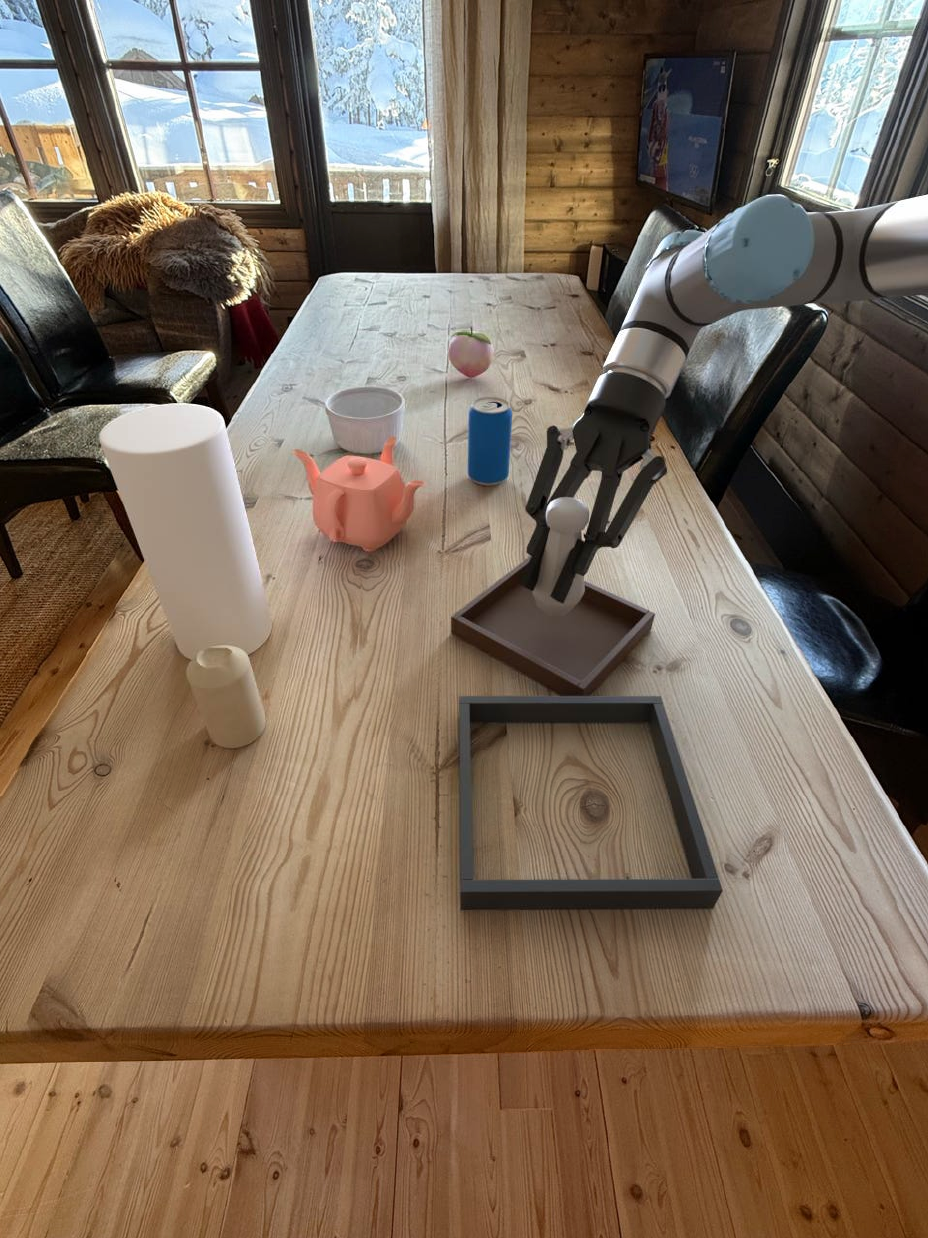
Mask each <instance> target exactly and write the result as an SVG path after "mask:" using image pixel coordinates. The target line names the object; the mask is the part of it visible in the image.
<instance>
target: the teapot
mask: <svg viewBox="0 0 928 1238" xmlns="http://www.w3.org/2000/svg"><path fill="white" fill-rule="evenodd" d="M395 443H396V437H391V438H390V439H388V440H387V442H386V443H385V445H384V448H383V451H382V452H381V455H380V458H379V460H378V459H374V458H372V457H371V458H370V457H365V456H359V455H343V456H341V457H340V458H339V459H338V458H337V460H334V462H332V463H331V464H330V465H329V466H327V467H326V468H325V469H323V471H321V472H320V470H319V468H318V466H317V464H316V462H315V460H314V458H312V457H311V455H310V454H309V453H307V452H305V451H303V450H301V449H300V450H299V449H293V451H292V452H293V454H294V455H295V456H296V457H297V458H298V459H299V460H300V461H301V463H302V464H303V467H304V469H305V473H306V479H307V484H308V488H309V491H310V493H311V495H312V496H313V497H312V518H313V522H314V525H315V526H316V527H317V529H318V531H320V533H322V535H325V536H326V537H329V538H328V539H329V540H330V541H331V542H333V543H340V542H341V543H342V544H343V543H344V544H347V545H351V546H354V547H355V546H356V547H362V550H363V551H365V552H375V551H377V550H378V549H379V548H381V547H383V546H385V545H386V544H387V543H389V542H390V541H391V540H392V539H393V538H394V537H396V536H397V534H398V533H399V532H400V531H401V530H402V529H403V528H404V526H405V525H406V524H407V523H408V520H409V519H410V517H411V515H412V513H413V512H414V508H415V495H416V491H417V490H418V488H420V487H422V486H424V485H426V482H425V481H423V480H413V481H410V482H408V483H407V484H405V481H404V479H403V477H402V475H401V473H400V471H399V469H398V467H396V466H395V464H394V463H395V462H394V449H395V446H396V445H395ZM394 445H395V446H394Z"/></svg>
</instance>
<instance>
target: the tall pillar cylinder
mask: <svg viewBox="0 0 928 1238" xmlns="http://www.w3.org/2000/svg"><path fill="white" fill-rule="evenodd" d="M98 438H99V443H100V445H101V449H102V451H103V453H104V457H105V459H106V461H107V465H108V467H109V469H110V473H111V475H112V477H113V480H114V483H115V485H116V488H117V490H118V493H119V496H120V499H121V501H122V502H121V503H122V504H123V507H124V510H125V512H126V515H127V518H128V520H129V523H130V526H131V528H132V530H133V533H134V537H135V538H136V540H137V544H138V546H139V549H140V552H141V555H142V557H143V559H144V562H145V565H146V568H147V571H148V573H149V576H150V578H151V582H152V585H153V587H154V589H155V591H156V594H157V597H158V600H159V602H160V605H161V607H162V610H163V613H164V616H165V618H166V621H167V624H168V626H169V629H170V632H171V635H172V637H173V639H174V642H175V645H176V648H177V649H178V651H179V653H180V654H181V655H182V656H183V657H185V658H186V659H187V660H190V661H192V659H193V658H194V657H195V656H196V655H197V654H198V652H199V651H202V650H204V649H206V648H210V647H213V646H219V645H228V646H234V647H237V648H240V649H242V650H243V651H245V652H246V654H247V655H248V656H250V655H251V654H252V653H254V652H256V651H257V650H258V649H259V648H261V647H262V646H263V645H264V644H265V643H266V642H267V640H268V639H269V638H270V635H271V633H272V630H273V620H272V617H271V612H270V607H269V603H268V599H267V595H266V591H265V587H264V582H263V578H262V573H261V570H260V565H259V562H258V556H257V552H256V549H255V545H254V540H253V536H252V532H251V531H252V530H251V527H250V523H249V519H248V515H247V512H246V506H245V502H244V498H243V494H242V491H241V486H240V482H239V477H238V473H237V469H236V465H235V461H234V456H233V453H232V447H231V443H230V440H229V435H228V431H227V426H226V423H225V419H224V417H223V416H222V414H221V413H220V412H219V411H217V410H215V409H214V408H211V407H208V406H205V405H201V404H194V403H165V404H164V403H163V404H158V405H151V406H146V407H141V408H138V409H134V410H132V411H129V412H126V413H123V414H121V415H119V416H117V417H115V418H113V419H112V420H111V421H109V422H108V423H106V425H105V426H104V427H103V428H102V429H101V430H100V432H99V437H98Z"/></svg>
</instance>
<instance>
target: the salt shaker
mask: <svg viewBox="0 0 928 1238" xmlns="http://www.w3.org/2000/svg"><path fill="white" fill-rule="evenodd" d="M589 521H590V510H589V507H588V506H587V505H586V503H584V502H583V501H582V500H580V499H578V498H575V497H573V498H571V497H562V498H558V499H555V500H553V501H552V502H550V504H549V505H548V507H547V510H546V522H547V525H548V526H549V527H550V532H549V535H548V539H547V543H546V547H545V550H544V554H543V557H542V561H541V566H540V572H539V577H538V582H537V584H536V586H535V588H534V590H533V591H532V593H533V596H534V599H535V601H536V604H537V606H538V607H539V608H540V609H541V610H543V611H544V612H545V613H547V614H548V615H566V614H567V613H569V612H570V611H571V610H572V609H573V608H574V607H575V605H576V604H577V603H578V602H579V601H580V600H581V598H582V596H583V594H584V591H585V586H584V581H585V575H584V576H581V575H579V574H576V575H575V578H574V579H573V583H572V586H571V588H570V590H569V592H568V594H567V597H566V599H565V601H564V603H560V602H558V601H556V600H555V599H553V598H552V597H550V595H551V593H552V591H553V589H554V587H555V584H556V582H557V580H558V578H559V575H560V573H561V571H562V569H563V566H564V564H565V562H566V560H567V558H568V555H569V553H570V551H571V549H572V548H574V546H575V543H576V541H577V538H578V539H580V540H583V534H582V531H584V530H585V529H586V528H587V526H588V524H589Z"/></svg>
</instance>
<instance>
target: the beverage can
mask: <svg viewBox="0 0 928 1238" xmlns="http://www.w3.org/2000/svg"><path fill="white" fill-rule="evenodd" d="M467 423H468V424H467V425H468V427H467V430H468V431H467V476H468V477H469V479H470V480H472V481H473V482H475V483H476V484H478V485H481V486H497V485H499V484H501V483H503V482H504V481H505V480H507V479H508V478H509V475H510V462H511V461H510V460H511V458H510V457H511V443H512V427H513V426H512V425H513V411H512V408H511V403H510V402H509V401H508V400H507V399H504V398H503V397H499V396H483V397H478V398H476V399H474V400H473V401H472V402H471V407H470V408H469V410H468V421H467Z"/></svg>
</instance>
